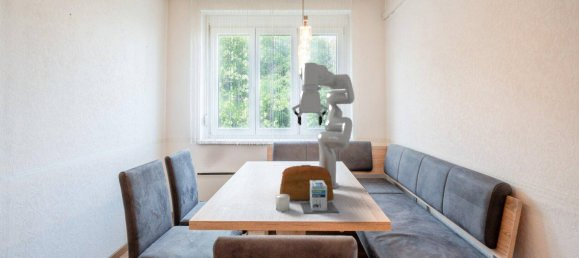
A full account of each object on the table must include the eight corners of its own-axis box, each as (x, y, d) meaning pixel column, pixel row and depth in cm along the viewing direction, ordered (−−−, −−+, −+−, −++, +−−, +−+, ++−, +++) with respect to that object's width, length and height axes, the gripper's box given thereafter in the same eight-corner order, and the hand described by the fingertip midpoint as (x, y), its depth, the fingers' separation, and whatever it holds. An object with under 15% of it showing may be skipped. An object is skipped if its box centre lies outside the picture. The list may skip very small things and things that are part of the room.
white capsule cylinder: (275, 207, 122) (275, 194, 122) (288, 206, 123) (288, 193, 122) (276, 212, 116) (276, 198, 116) (290, 211, 117) (290, 197, 116)
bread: (335, 201, 130) (335, 169, 129) (279, 201, 130) (279, 168, 129) (330, 192, 146) (330, 162, 145) (280, 191, 146) (280, 162, 145)
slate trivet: (300, 204, 126) (300, 202, 126) (332, 203, 127) (332, 201, 127) (303, 213, 114) (303, 212, 114) (338, 212, 115) (338, 211, 115)
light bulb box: (327, 211, 115) (327, 186, 115) (311, 211, 115) (311, 186, 115) (323, 202, 126) (324, 179, 125) (309, 202, 126) (309, 179, 125)
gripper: (326, 90, 135) (325, 124, 136) (291, 89, 133) (291, 124, 134) (329, 88, 127) (329, 125, 128) (292, 88, 126) (292, 125, 127)
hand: (309, 125), depth 131 cm, fingers open, 9 cm apart
